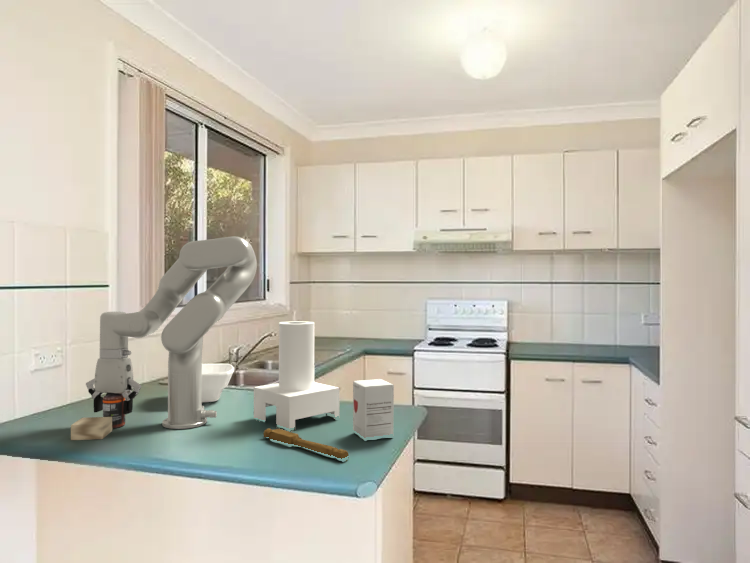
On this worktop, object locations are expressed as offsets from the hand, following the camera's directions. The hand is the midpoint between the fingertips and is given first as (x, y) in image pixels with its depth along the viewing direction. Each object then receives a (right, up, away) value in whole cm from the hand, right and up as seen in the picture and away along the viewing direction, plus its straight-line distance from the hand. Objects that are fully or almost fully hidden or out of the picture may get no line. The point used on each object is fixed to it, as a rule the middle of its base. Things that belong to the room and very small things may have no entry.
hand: (113, 412), depth 162 cm
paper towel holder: (+53, -5, +9) cm, 54 cm away
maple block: (-1, -4, -9) cm, 10 cm away
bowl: (+16, -4, +33) cm, 36 cm away
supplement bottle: (0, -4, 0) cm, 4 cm away
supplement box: (+76, -5, -8) cm, 77 cm away
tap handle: (+58, -5, -20) cm, 62 cm away
